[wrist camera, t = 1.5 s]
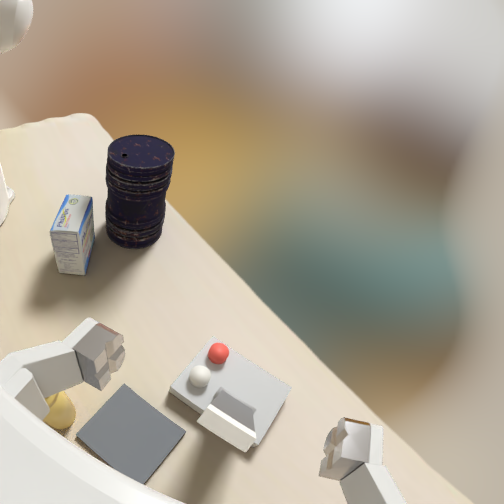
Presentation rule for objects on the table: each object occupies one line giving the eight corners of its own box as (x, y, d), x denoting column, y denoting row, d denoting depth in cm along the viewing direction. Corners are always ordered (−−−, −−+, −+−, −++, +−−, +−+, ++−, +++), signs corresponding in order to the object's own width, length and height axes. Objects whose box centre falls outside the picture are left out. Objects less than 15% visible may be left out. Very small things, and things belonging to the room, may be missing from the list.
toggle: (213, 396, 33) (190, 419, 19) (221, 385, 34) (203, 402, 19) (248, 418, 33) (249, 457, 18) (256, 408, 33) (262, 440, 19)
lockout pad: (76, 435, 26) (75, 434, 26) (124, 385, 33) (124, 383, 32) (140, 488, 25) (140, 488, 24) (185, 432, 31) (186, 431, 31)
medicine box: (85, 277, 41) (79, 233, 35) (58, 273, 40) (48, 230, 34) (95, 238, 46) (93, 195, 40) (70, 236, 45) (65, 192, 39)
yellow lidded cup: (31, 409, 26) (-1, 379, 19) (57, 383, 29) (33, 347, 23) (60, 440, 25) (31, 420, 18) (86, 412, 28) (67, 384, 22)
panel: (168, 391, 34) (170, 382, 32) (209, 342, 40) (214, 331, 38) (253, 447, 32) (261, 443, 30) (285, 392, 38) (295, 384, 36)
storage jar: (139, 202, 55) (148, 129, 45) (174, 232, 53) (189, 155, 43) (94, 224, 48) (94, 145, 38) (128, 259, 46) (132, 176, 36)
